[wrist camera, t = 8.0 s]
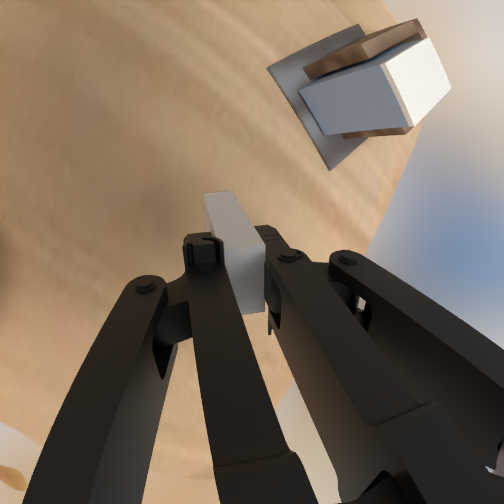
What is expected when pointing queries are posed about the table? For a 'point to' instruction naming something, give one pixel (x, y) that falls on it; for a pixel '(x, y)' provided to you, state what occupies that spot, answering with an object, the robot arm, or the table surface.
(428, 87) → the white box
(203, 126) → the table surface
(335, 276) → the robot arm
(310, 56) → the housing
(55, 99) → the table surface
